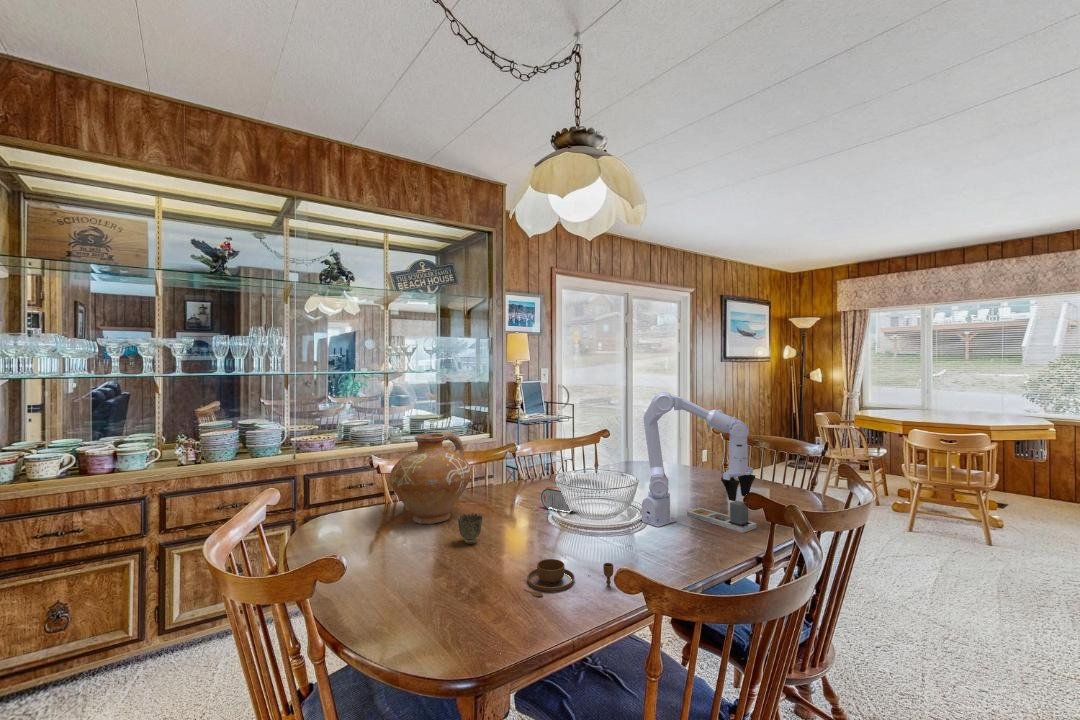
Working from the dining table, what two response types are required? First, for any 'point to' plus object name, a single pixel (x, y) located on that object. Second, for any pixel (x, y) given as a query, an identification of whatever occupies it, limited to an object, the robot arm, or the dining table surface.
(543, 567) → the place setting
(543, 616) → the dining table surface
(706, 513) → the grey compartment tray
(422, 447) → the jug
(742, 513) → the block
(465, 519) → the cup
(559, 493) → the tin
